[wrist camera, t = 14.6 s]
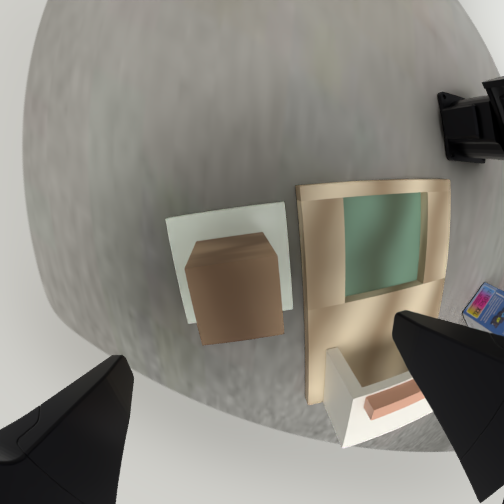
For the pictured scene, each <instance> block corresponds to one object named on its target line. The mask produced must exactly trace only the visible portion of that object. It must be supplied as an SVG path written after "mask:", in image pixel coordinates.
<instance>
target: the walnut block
mask: <svg viewBox="0 0 504 504" xmlns="http://www.w3.org/2000/svg"><path fill="white" fill-rule="evenodd" d="M184 269H185V274H186V279H187V283H188V288H189V292H190V297H191V301H192V305H193V310H194V314H195V318H196V322H197V326H198V330H199V334H200V338H201V342H202V345H210V344H219V343H227V342H235V341H242V340H249V339H256V338H263V337H269V336H275V335H281V334H284V323H283V311H282V299H281V287H280V276H279V265H278V255H277V254H276V252H275V251H274V249H273V247H272V246H271V244H270V243H269V241H268V239H267V238H266V236H265V235H264V233H263V232H258V233H251V234H244V235H236V236H229V237H222V238H215V239H208V240H202V241H196V243H195V245H194V248H193V250H192V252H191V254H190V257H189V259H188V261H187V264H186V266H185V268H184Z"/></svg>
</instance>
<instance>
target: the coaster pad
mask: <svg viewBox="0 0 504 504" xmlns="http://www.w3.org/2000/svg"><path fill="white" fill-rule="evenodd" d="M166 225H167V230H168V236H169V241H170V246H171V251H172V256H173V261H174V266H175V270H176V275H177V280H178V284H179V288H180V293H181V297H182V301H183V305H184V309H185V313H186V317H187V321H188V324H191V323H197V322H196V318H195V314H194V310H193V305H192V301H191V297H190V292H189V288H188V283H187V279H186V274H185V269H184V268H185V266H186V264H187V261H188V259H189V257H190V254H191V252H192V250H193V248H194V245H195V243H196V241H202V240H208V239H215V238H222V237H229V236H236V235H244V234H251V233H258V232H263V233H264V235H265V236H266V238H267V239H268V241H269V243H270V244H271V246H272V247H273V249H274V251H275V252H276V254H277V255H278V265H279V276H280V287H281V299H282V311H285V310H291V309H293V300H292V285H291V271H290V258H289V246H288V234H287V223H286V212H285V202H283V201H282V202H273V203H265V204H256V205H249V206H241V207H234V208H226V209H219V210H212V211H206V212H199V213H193V214H186V215H180V216H174V217H168V218H166Z"/></svg>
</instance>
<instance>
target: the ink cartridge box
mask: <svg viewBox="0 0 504 504" xmlns="http://www.w3.org/2000/svg"><path fill="white" fill-rule="evenodd" d="M463 316H464V318H465V320H466V322H467V325H468V327H471V328H475V329H478V330H482V331H486V332H489V333H494V334H498V335H502V336H504V291H502V290H500V289H498V288H496V287H494V286H492V285H490V284H488V283H484V284H483V285H482V287H481V288H480V289H479V291H478V292H477V294H476V295H475V296H474V298H473V299H472V301H471V302H470V303H469V305H468V306H467V307H466V309H465V310H464V312H463Z"/></svg>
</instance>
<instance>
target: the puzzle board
mask: <svg viewBox="0 0 504 504" xmlns="http://www.w3.org/2000/svg"><path fill="white" fill-rule="evenodd" d="M295 187H296V197H297V208H298V220H299V232H300V246H301V261H302V278H303V298H304V324H305V397H306V400H307V403H308V405H312V404H316V403H320V402H323V400H324V386H325V370H326V350H328V349H332V348H336V347H338V349H339V350H340V352H341V354H342V355H343V357H344V359H345V360H346V362H347V363H348V365H349V367H350V368H351V370H352V372H353V373H354V375H355V377H356V378H357V380H358V382H359V383H360V385H361V387H365V386H369V385H372V384H375V383H378V382H380V381H383V380H386V379H389V378H392V377H394V376H397V375H400V374H402V373H405V372H407V371H408V369H407V367H406V365H405V363H404V361H403V359H402V357H401V355H400V352H399V351H398V349H397V347H396V345H395V343H394V341H393V338H392V329H393V322H394V316H395V314H396V313H397V312H400V311H403V310H408V311H412V312H416V313H419V314H423V315H426V316H430V317H434V318H437V319H438V315H439V310H440V305H441V300H442V294H443V288H444V281H445V274H446V267H447V258H448V247H449V234H450V208H451V192H450V180H447V179H390V180H365V181H347V182H332V183H319V184H307V185H296V186H295Z"/></svg>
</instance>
